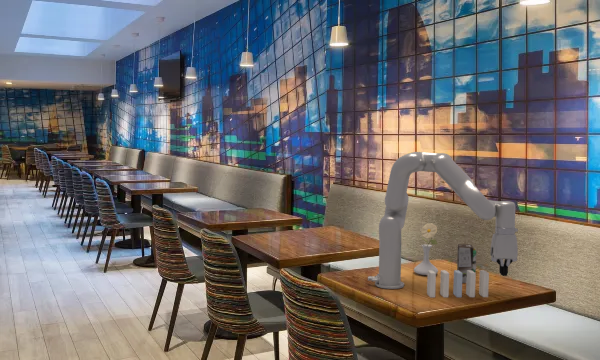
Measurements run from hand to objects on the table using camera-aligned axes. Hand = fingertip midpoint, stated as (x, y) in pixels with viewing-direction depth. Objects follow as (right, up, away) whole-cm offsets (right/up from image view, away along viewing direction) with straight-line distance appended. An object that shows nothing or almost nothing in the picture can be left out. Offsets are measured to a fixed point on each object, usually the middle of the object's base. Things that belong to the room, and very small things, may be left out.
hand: (503, 275), depth 245 cm
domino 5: (-8, -8, 0) cm, 12 cm away
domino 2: (-25, -8, -1) cm, 26 cm away
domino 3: (-19, -8, 0) cm, 21 cm away
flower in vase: (-24, -6, +35) cm, 43 cm away
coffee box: (-9, -7, +24) cm, 27 cm away
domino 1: (-30, -8, -1) cm, 31 cm away
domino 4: (-14, -8, 0) cm, 16 cm away
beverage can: (-4, -6, +38) cm, 39 cm away
